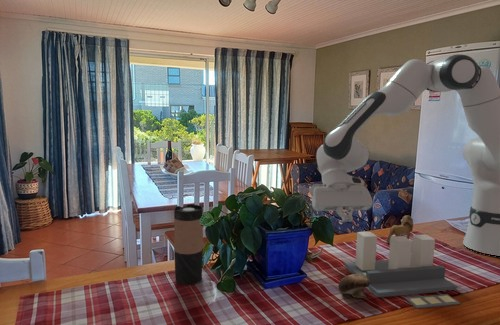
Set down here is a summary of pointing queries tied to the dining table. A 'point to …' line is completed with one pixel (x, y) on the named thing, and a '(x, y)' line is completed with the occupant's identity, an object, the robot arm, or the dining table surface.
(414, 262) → the key
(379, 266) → the board
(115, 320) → the dining table surface
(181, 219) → the travel mug
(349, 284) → the mushroom
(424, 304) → the card
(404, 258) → the middle key
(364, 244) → the key
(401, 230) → the lion figurine
